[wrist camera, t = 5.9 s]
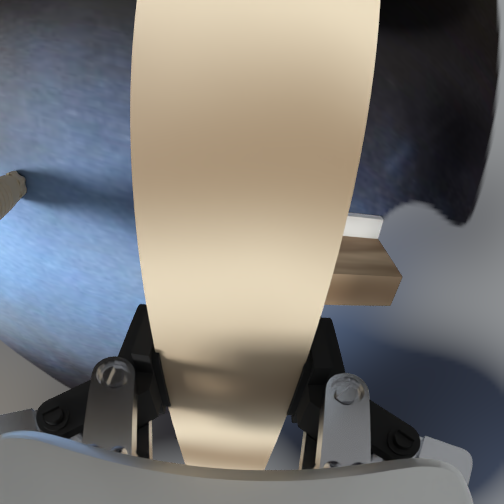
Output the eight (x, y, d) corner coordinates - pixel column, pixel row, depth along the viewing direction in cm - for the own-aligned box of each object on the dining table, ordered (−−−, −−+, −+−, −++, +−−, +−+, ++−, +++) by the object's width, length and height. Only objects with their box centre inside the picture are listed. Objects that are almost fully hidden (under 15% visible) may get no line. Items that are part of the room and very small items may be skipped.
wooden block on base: (286, 206, 27) (297, 247, 21) (380, 216, 27) (410, 255, 21) (276, 272, 30) (282, 321, 25) (361, 276, 31) (382, 322, 25)
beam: (194, -42, 6) (158, -103, 2) (333, -30, 6) (381, -85, 2) (197, 430, 18) (191, 482, 15) (256, 434, 18) (256, 486, 15)
